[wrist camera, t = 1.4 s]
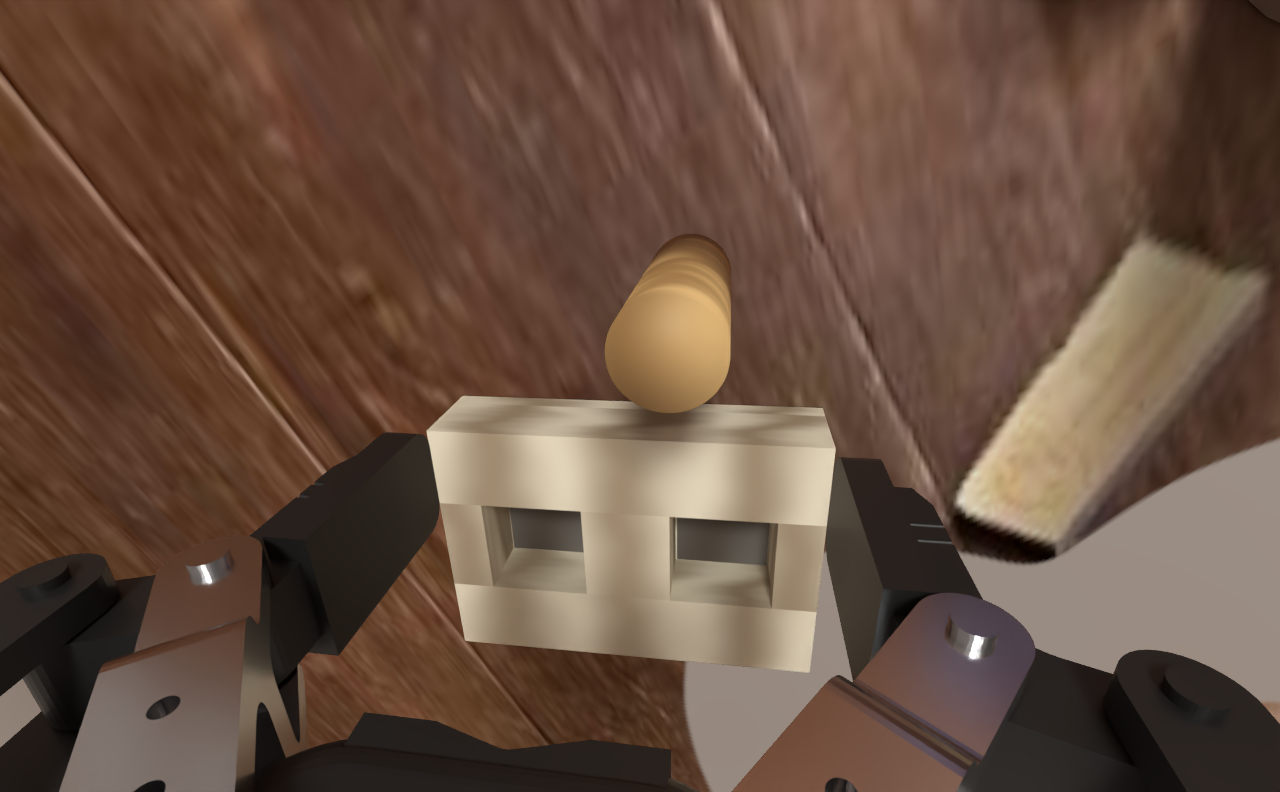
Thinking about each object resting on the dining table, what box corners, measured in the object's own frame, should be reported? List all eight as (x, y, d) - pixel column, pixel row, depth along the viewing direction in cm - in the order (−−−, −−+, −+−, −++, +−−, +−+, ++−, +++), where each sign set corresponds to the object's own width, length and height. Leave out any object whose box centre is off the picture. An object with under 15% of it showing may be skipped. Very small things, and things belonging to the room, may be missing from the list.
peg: (732, 233, 29) (732, 294, 18) (730, 314, 31) (728, 415, 20) (650, 234, 30) (601, 293, 19) (651, 313, 31) (607, 410, 20)
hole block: (822, 408, 32) (835, 448, 28) (801, 613, 37) (809, 672, 33) (462, 396, 35) (426, 431, 31) (492, 588, 40) (465, 640, 36)
